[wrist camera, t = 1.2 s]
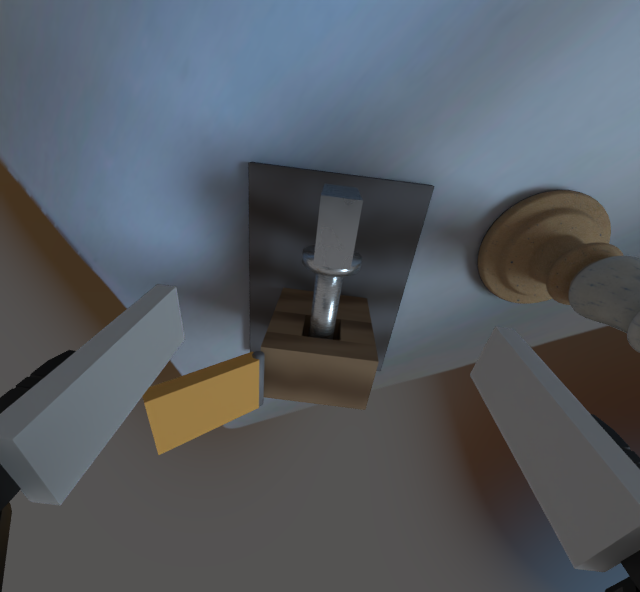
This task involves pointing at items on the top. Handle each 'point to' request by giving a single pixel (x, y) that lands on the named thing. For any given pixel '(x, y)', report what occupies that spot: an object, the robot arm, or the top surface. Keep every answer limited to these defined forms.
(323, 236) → the lynch pin
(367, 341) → the hitch block
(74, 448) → the robot arm
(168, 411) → the plate
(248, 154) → the top surface
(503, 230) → the candle holder
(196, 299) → the top surface
